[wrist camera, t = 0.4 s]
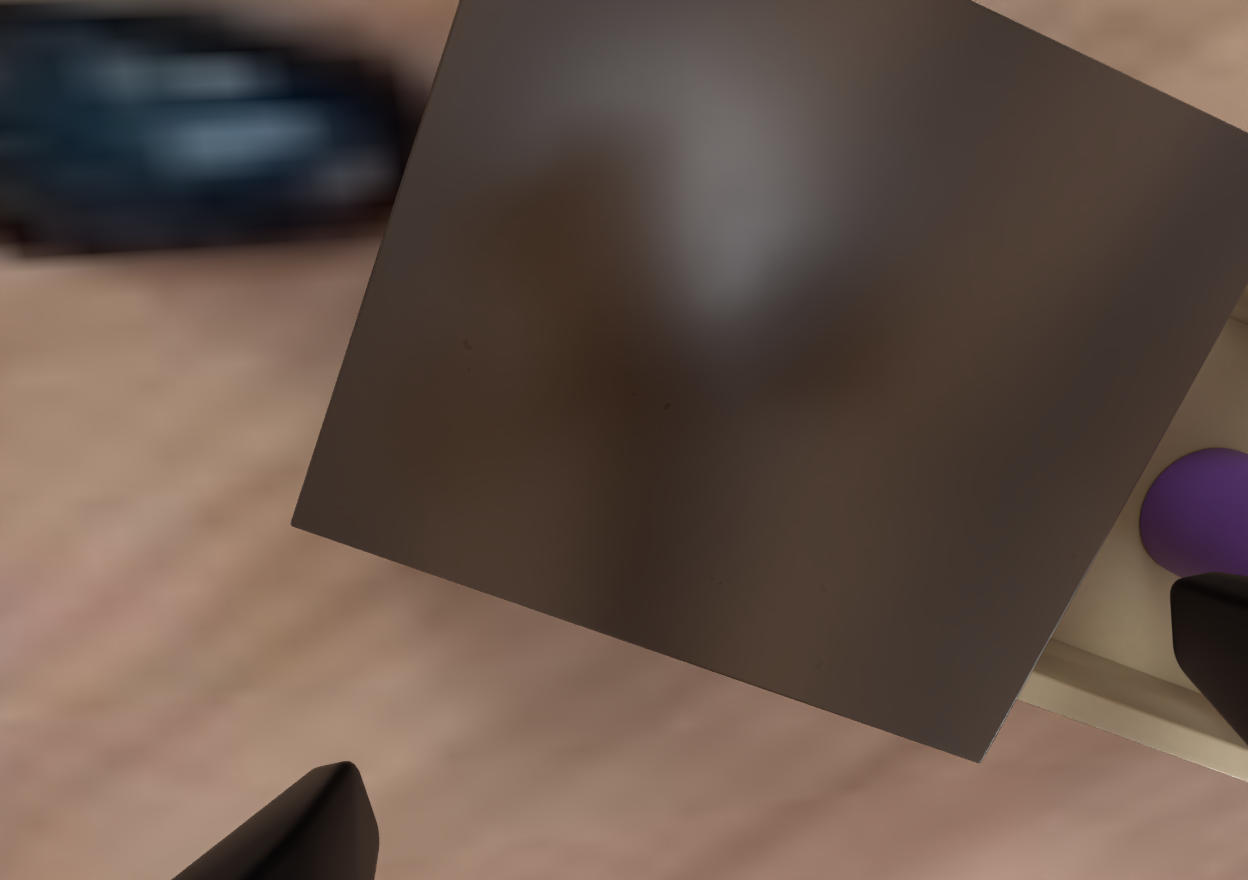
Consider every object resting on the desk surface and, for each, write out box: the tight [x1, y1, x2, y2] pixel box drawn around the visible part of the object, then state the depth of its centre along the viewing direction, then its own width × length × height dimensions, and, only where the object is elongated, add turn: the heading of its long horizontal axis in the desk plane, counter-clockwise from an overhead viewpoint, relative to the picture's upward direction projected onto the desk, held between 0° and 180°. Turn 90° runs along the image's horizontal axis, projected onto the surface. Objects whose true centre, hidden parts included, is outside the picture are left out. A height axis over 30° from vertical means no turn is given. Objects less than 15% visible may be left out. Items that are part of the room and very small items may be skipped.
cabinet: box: [291, 0, 1248, 763], centre depth 19 cm, size 16×14×7 cm
